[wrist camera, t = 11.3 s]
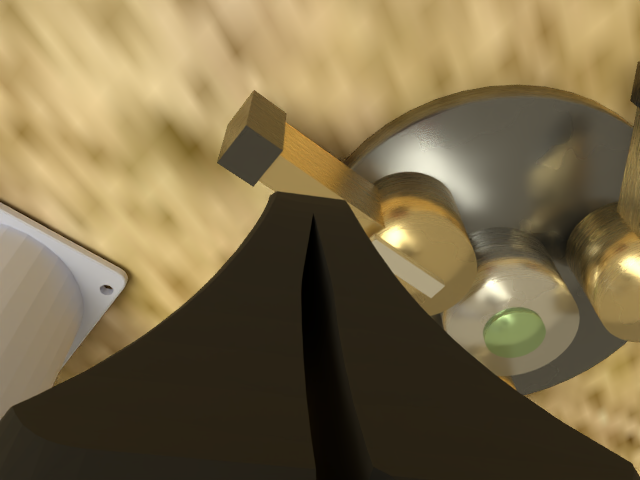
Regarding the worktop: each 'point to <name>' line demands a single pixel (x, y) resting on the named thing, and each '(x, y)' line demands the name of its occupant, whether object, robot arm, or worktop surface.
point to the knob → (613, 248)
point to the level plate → (516, 217)
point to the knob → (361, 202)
